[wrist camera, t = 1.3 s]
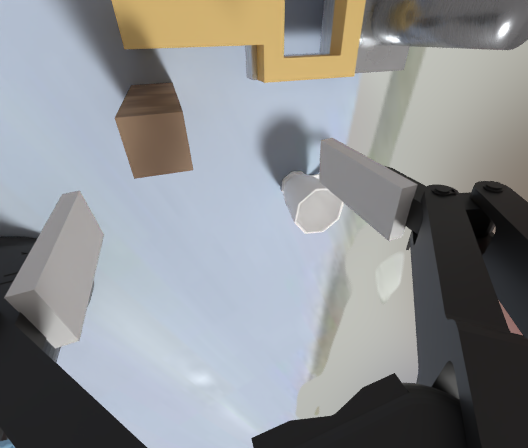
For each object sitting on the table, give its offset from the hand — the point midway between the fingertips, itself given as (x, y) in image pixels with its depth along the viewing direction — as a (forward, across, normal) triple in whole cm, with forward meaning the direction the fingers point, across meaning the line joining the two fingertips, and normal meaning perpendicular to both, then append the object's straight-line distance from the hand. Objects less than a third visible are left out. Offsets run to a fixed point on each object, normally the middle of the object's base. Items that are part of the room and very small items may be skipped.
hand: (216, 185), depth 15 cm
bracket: (+19, +7, +8) cm, 22 cm away
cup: (+19, +15, -12) cm, 27 cm away
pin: (+19, -2, +1) cm, 19 cm away
